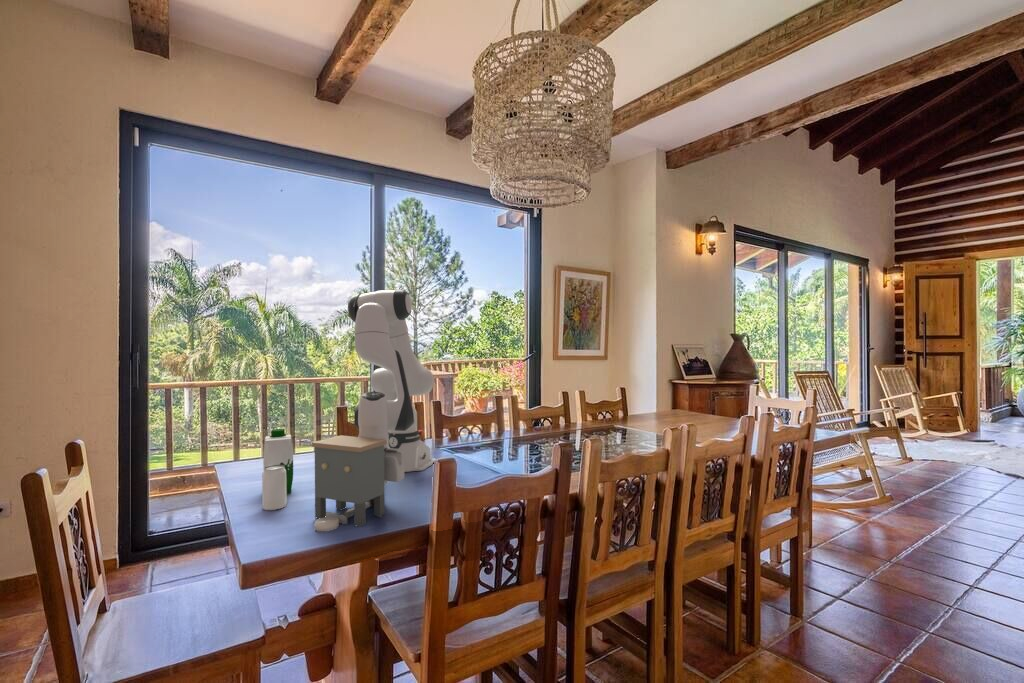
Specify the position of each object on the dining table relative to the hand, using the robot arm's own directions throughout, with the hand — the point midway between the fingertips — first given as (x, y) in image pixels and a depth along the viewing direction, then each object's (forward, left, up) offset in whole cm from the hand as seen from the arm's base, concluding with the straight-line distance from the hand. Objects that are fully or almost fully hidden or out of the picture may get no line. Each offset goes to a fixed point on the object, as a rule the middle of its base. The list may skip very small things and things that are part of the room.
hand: (373, 492), depth 151 cm
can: (+13, -26, -4) cm, 29 cm away
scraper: (+7, 0, -3) cm, 8 cm away
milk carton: (+2, -37, -4) cm, 37 cm away
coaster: (+19, 0, -4) cm, 19 cm away
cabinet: (+10, 0, -4) cm, 11 cm away
